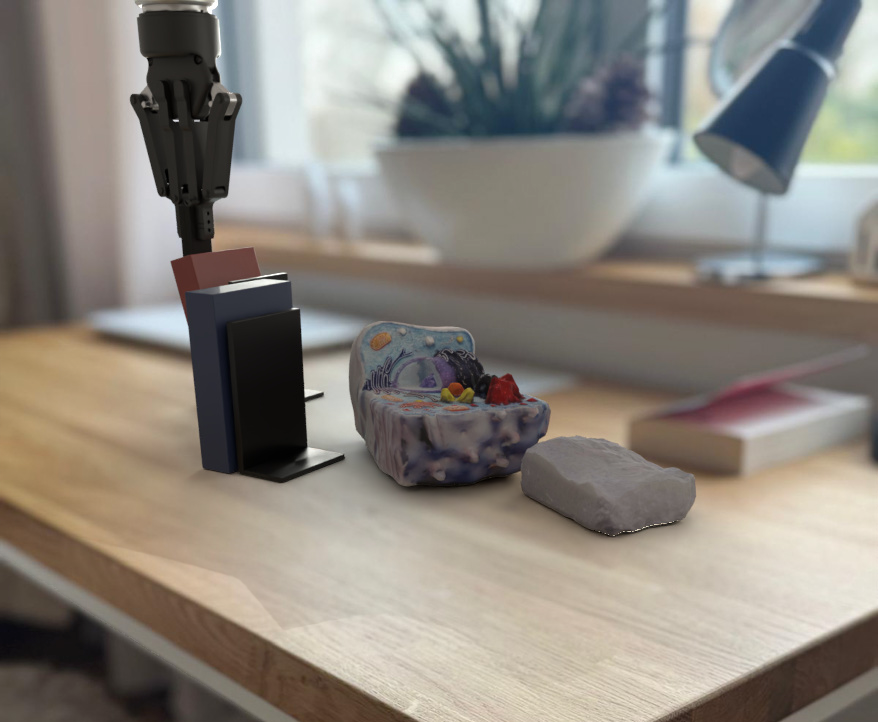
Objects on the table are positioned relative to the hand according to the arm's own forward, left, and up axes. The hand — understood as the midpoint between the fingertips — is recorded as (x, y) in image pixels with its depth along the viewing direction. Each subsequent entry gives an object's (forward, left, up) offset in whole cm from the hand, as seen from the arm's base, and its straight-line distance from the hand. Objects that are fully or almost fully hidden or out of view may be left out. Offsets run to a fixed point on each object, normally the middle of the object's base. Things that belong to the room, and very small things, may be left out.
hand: (199, 272), depth 110 cm
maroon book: (+3, 0, -5) cm, 6 cm away
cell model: (+35, -10, -12) cm, 39 cm away
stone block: (+52, -12, -12) cm, 55 cm away
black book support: (+26, -17, -12) cm, 33 cm away
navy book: (+20, -17, -5) cm, 27 cm away
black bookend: (+10, 0, -12) cm, 16 cm away
